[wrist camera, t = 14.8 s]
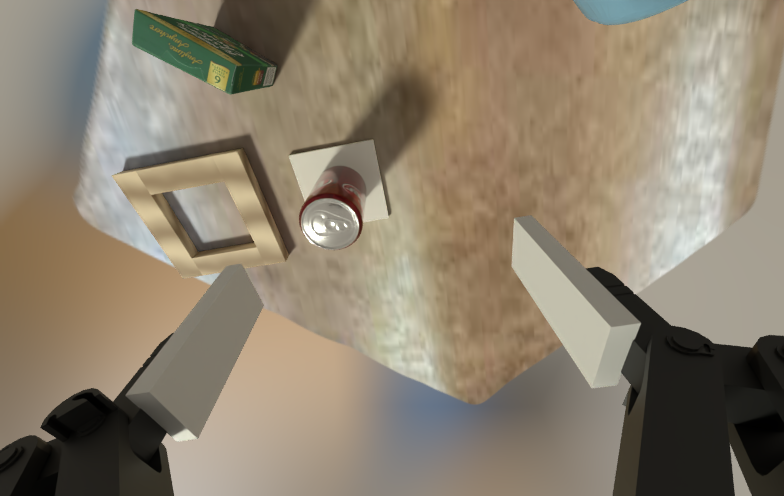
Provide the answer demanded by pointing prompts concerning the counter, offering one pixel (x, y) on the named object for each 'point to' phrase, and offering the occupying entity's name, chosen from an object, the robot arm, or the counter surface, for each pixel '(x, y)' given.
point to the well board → (203, 170)
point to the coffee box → (202, 52)
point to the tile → (348, 155)
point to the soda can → (334, 209)
